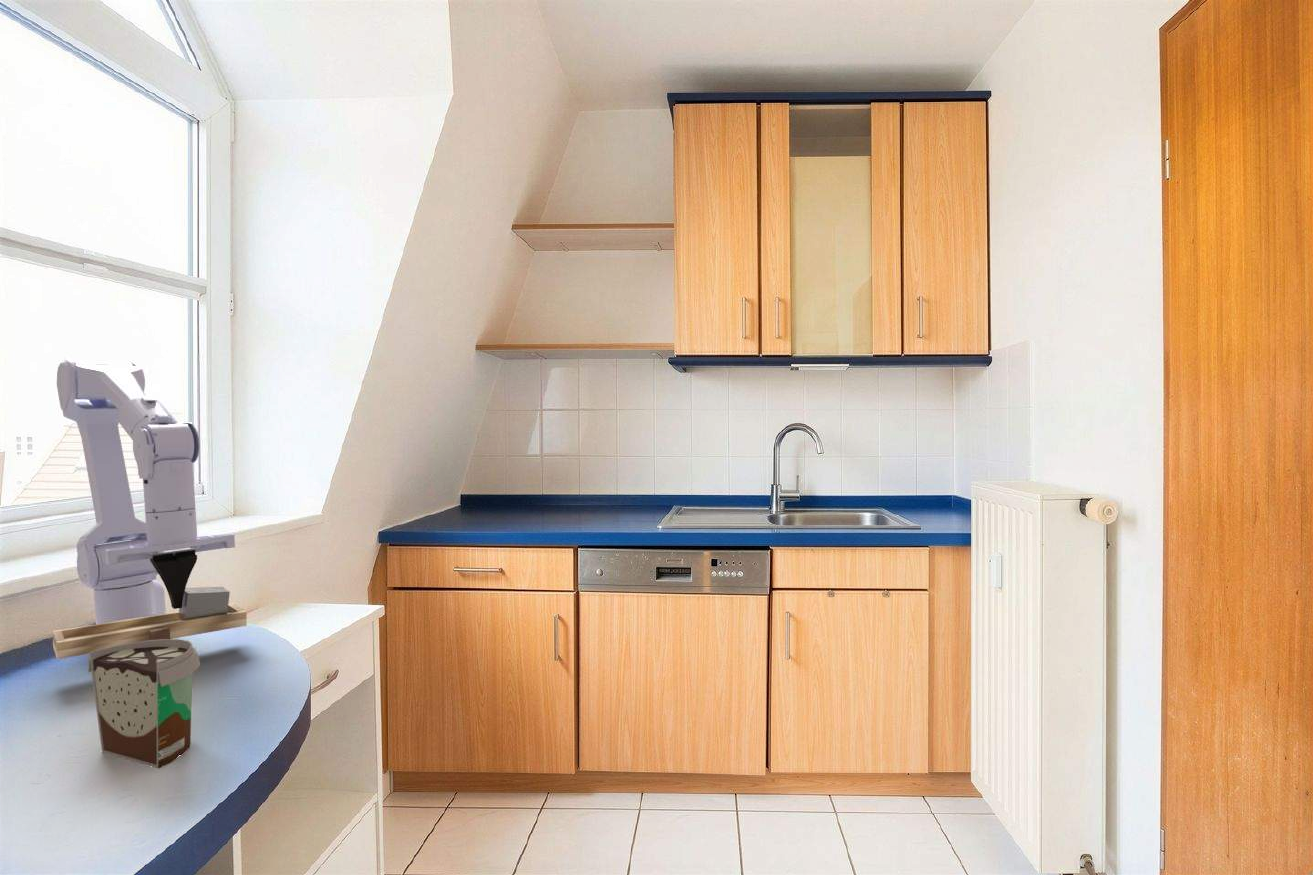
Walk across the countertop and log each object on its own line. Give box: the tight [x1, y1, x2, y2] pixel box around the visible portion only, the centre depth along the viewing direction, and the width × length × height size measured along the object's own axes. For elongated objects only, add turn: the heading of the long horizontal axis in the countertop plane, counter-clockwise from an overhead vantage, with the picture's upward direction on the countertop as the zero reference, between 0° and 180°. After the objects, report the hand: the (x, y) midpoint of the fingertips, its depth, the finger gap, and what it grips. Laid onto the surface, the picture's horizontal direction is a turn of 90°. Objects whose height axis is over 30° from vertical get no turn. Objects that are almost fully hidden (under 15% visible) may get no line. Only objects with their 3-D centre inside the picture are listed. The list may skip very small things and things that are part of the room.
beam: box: [52, 602, 248, 660], centre depth 93 cm, size 20×8×2 cm, turn 134°
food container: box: [87, 638, 201, 770], centre depth 68 cm, size 12×6×10 cm, turn 65°
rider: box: [178, 586, 231, 621], centre depth 97 cm, size 5×5×4 cm
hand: (177, 607), depth 95 cm, fingers closed
